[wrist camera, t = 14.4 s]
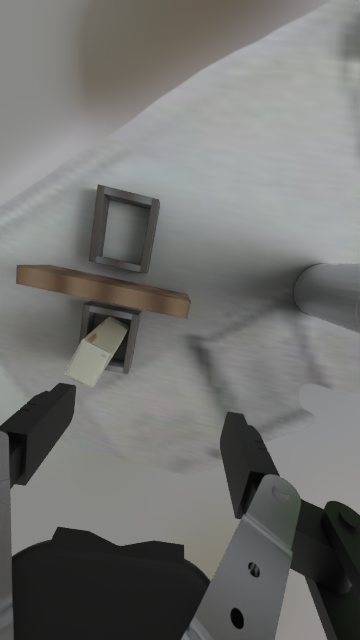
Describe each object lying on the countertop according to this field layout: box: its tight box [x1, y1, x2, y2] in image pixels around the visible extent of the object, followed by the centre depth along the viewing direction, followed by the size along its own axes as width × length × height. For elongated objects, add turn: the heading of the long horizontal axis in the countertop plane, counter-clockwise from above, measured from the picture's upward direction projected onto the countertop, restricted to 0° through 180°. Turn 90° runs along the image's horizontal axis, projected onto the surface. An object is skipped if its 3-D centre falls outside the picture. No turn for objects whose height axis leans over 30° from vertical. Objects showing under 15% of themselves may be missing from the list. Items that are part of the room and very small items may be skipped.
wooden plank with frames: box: [16, 185, 191, 374], centre depth 35 cm, size 24×29×8 cm
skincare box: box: [65, 316, 130, 388], centre depth 35 cm, size 6×4×12 cm
